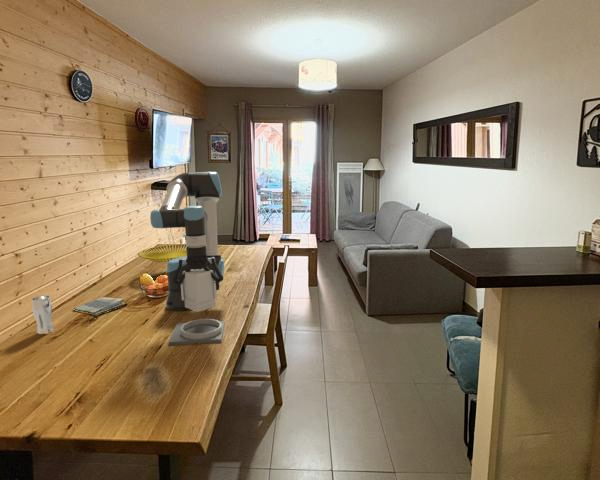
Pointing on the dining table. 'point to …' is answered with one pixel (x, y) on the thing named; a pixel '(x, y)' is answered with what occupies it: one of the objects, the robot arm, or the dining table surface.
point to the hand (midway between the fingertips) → (199, 298)
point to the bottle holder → (197, 332)
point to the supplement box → (198, 289)
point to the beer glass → (42, 313)
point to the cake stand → (164, 254)
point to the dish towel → (100, 305)
